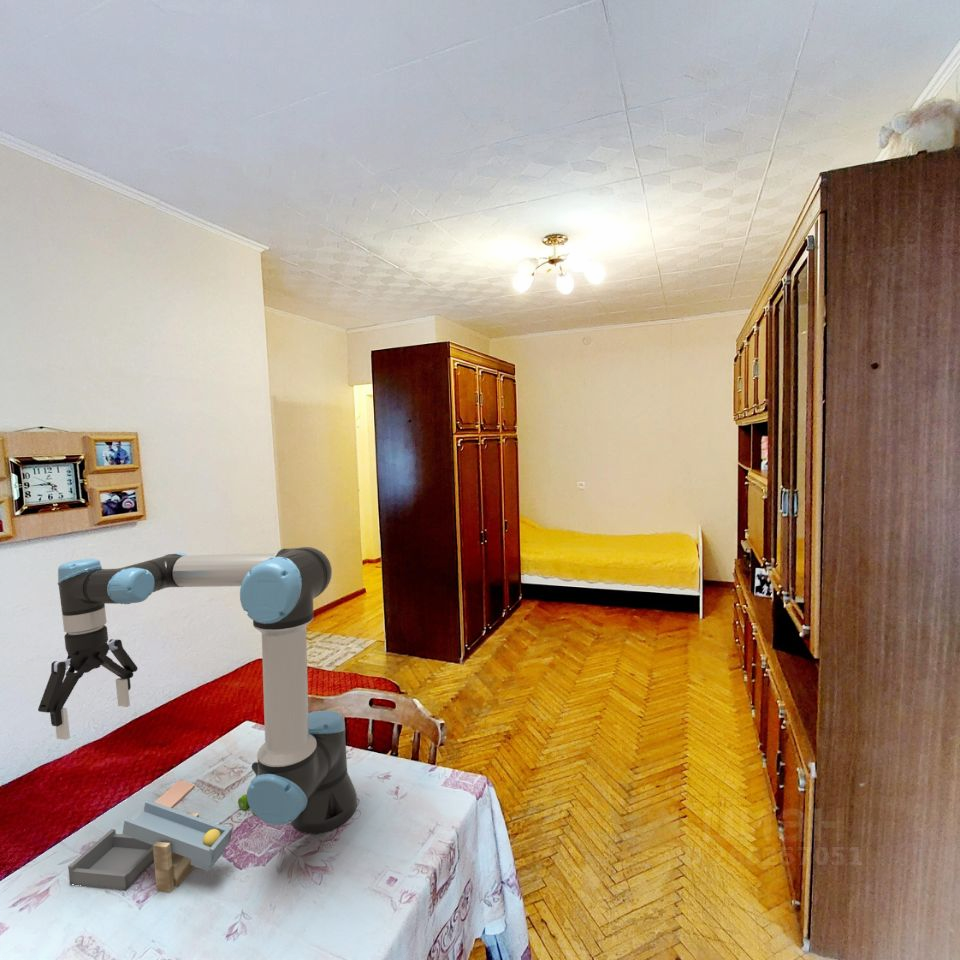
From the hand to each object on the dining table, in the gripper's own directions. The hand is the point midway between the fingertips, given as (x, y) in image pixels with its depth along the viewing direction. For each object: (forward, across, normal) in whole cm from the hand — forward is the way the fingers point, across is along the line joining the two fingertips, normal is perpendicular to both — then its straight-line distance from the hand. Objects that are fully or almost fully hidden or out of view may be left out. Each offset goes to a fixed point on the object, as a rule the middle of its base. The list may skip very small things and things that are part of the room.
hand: (95, 721), depth 113 cm
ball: (+20, +4, +33) cm, 39 cm away
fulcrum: (+28, +4, +26) cm, 38 cm away
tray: (+28, +6, +11) cm, 30 cm away
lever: (+22, 0, +24) cm, 33 cm away
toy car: (+28, -18, +28) cm, 43 cm away
